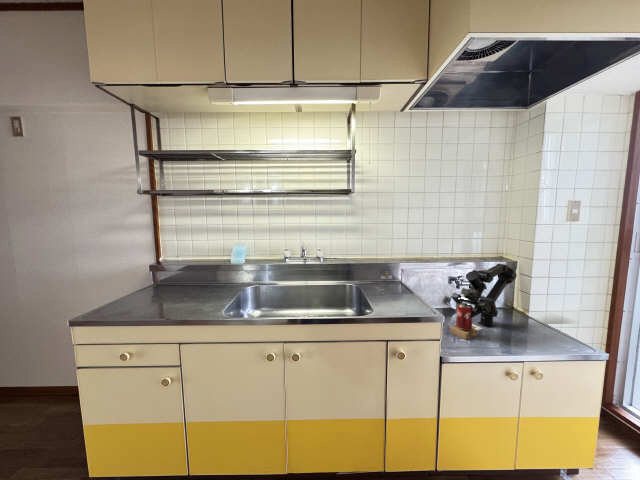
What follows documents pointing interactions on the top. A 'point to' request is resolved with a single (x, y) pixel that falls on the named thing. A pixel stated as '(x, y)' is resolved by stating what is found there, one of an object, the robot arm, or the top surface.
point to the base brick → (463, 332)
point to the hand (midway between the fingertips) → (462, 315)
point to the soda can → (464, 316)
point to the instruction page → (476, 327)
